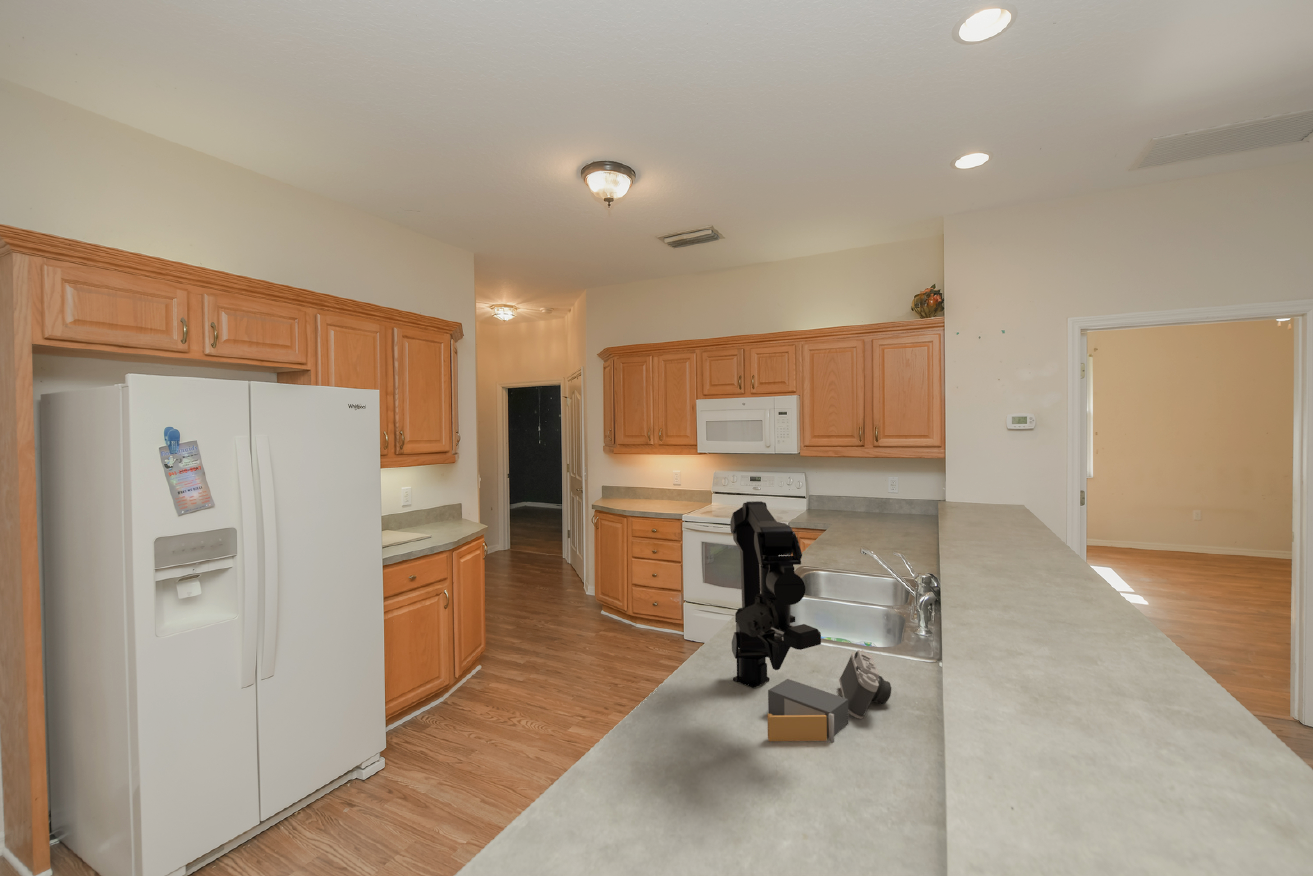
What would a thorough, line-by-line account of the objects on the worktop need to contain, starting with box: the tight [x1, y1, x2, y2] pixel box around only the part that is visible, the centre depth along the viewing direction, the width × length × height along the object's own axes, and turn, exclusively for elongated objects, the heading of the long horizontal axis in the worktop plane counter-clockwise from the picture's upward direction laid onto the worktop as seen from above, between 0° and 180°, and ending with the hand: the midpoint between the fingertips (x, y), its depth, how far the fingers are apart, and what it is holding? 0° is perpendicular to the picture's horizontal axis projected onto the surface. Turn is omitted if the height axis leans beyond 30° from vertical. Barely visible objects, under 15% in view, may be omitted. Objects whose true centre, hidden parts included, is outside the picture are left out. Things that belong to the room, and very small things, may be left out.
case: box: [767, 678, 849, 743], centre depth 115 cm, size 15×9×5 cm, turn 45°
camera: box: [838, 649, 892, 720], centre depth 122 cm, size 9×16×10 cm, turn 169°
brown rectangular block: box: [767, 713, 828, 742], centre depth 108 cm, size 11×1×5 cm, turn 90°
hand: (776, 669), depth 110 cm, fingers closed
